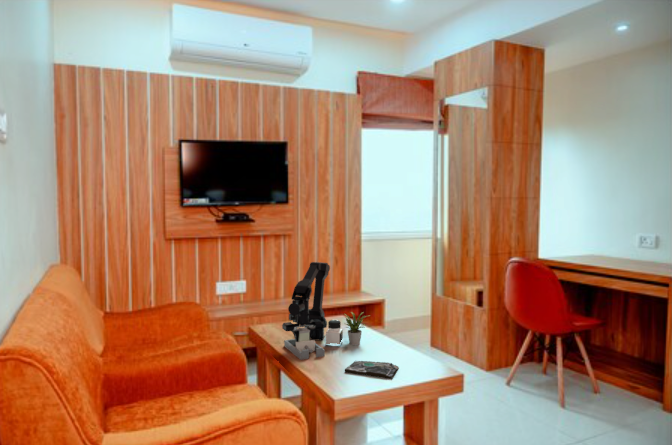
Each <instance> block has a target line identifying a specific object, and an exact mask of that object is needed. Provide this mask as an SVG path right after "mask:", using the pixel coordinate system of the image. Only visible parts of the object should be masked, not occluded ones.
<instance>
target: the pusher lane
mask: <svg viewBox="0 0 672 445" xmlns="http://www.w3.org/2000/svg"><path fill="white" fill-rule="evenodd" d="M283 346H284V347H285V348H286V349H287V350H288V351H289V352H291V353H292V354H293V355H294V356H295V357H297V358H298V359H299V360H308V359H309V357H310V352H309V350H308V349H307V350H302V352H301V351H300V350H298V349H297V348H296V340H295V338H293V339H292V338H291V339H285V340H284V345H283ZM325 351H326V350H325V349H324V347H321V346H320V345H319V344H317V343H316V342H315V351H314V352H315V358H321V357H325V354H326V353H325Z"/></svg>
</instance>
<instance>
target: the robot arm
mask: <svg viewBox="0 0 672 445" xmlns="http://www.w3.org/2000/svg"><path fill="white" fill-rule="evenodd" d="M330 267H331V266H330V265H329V263H328V262H319V261H312V262H310V263H309V267H308V268H307V270H306V273H305V275H304V277H303V278H302V280H300V281H298V282H297V283H296V285H295V286H294V288H293V292H292V295H291V300H292V303H290V304H289V305H288V308H287V309H288V312H289V314H288V320H289V321H287V322H283V323H282V325H281V326H282V327H281V329H283V330H284V331H285V332H291V333H292V334H293V337H294V339H295V340H296V342H298V338H299V331H298V330H297V328H304V327H307V329H309V330H310V332H309V340H315V341H324V339H325V338H326V335H325V329H327V327H328V326H327V325H328V321H327V319H326V317H325V312H324V309H323V300H324V299H323V298H324V291H325V290H324V288H325V280H326V279H327V277H328V276H329V272H330V269H331V268H330ZM314 280H315V283H314ZM313 283H314V292H313V290H312V289H313V288H312V284H313ZM312 293H313V301H312V308H310V305H309V304H310V299H311V298H310V297H311V295H312ZM309 309H311V310H309ZM291 321H292V322H291Z"/></svg>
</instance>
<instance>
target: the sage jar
mask: <svg viewBox="0 0 672 445" xmlns="http://www.w3.org/2000/svg"><path fill="white" fill-rule="evenodd" d="M297 330H298V331H299V338H298V342H301V341H308V340H309V332H310V330H309V329H307V328H306V327H298V328H297Z"/></svg>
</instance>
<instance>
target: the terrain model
mask: <svg viewBox="0 0 672 445" xmlns="http://www.w3.org/2000/svg"><path fill="white" fill-rule="evenodd" d="M399 369H400V367H399V366H397V365H396V364H393V363H392V362H385V361H384V362H383V361H382V362H380V361H377V362H376V361H370V360H369V361H367V360H355V361H353V362H352V363H351V364H350V365H348V366H347V367H346V368H344V373H346V374H353V375H358V376H368V377H374V378H381V379H386V380H393V377H395V374H396V373H397V372H398V371H399Z"/></svg>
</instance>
